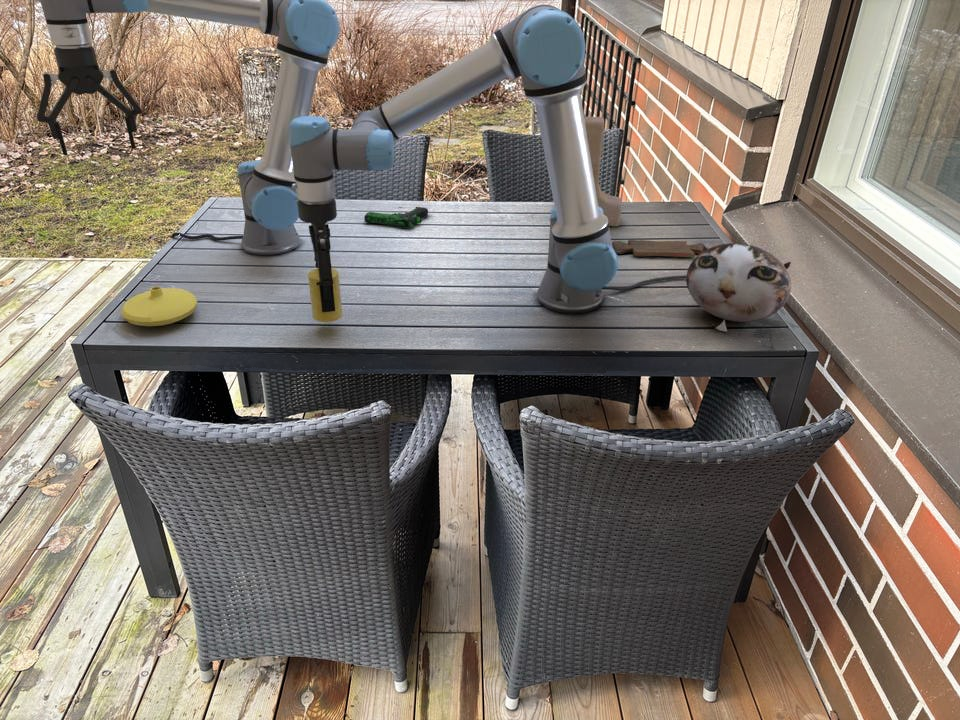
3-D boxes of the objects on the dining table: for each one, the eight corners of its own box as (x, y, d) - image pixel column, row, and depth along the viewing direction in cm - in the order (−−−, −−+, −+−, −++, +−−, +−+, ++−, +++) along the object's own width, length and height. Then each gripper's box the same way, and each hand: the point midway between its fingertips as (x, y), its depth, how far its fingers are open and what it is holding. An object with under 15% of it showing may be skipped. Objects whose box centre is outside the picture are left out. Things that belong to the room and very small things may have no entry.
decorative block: (619, 227, 213) (632, 123, 197) (569, 224, 214) (577, 121, 199) (618, 218, 219) (630, 117, 204) (569, 215, 221) (577, 115, 205)
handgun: (434, 207, 218) (411, 221, 205) (434, 217, 219) (411, 231, 207) (387, 201, 223) (362, 214, 211) (387, 210, 224) (363, 224, 212)
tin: (341, 321, 152) (337, 279, 147) (311, 322, 152) (306, 280, 147) (343, 308, 158) (339, 267, 153) (313, 309, 157) (309, 268, 152)
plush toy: (664, 307, 155) (693, 222, 157) (679, 329, 171) (705, 252, 172) (770, 332, 145) (800, 241, 146) (775, 353, 160) (802, 271, 162)
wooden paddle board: (710, 260, 193) (701, 246, 201) (711, 254, 192) (702, 240, 200) (615, 256, 193) (610, 243, 202) (615, 250, 192) (611, 237, 201)
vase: (172, 295, 169) (166, 268, 165) (214, 314, 161) (208, 285, 157) (109, 320, 158) (101, 291, 154) (150, 341, 150) (143, 311, 146)
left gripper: (2, 51, 139) (35, 161, 149) (140, 45, 149) (162, 148, 159) (3, 46, 144) (35, 152, 155) (137, 41, 154) (158, 140, 165)
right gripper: (293, 185, 149) (305, 287, 160) (300, 216, 133) (313, 326, 144) (330, 183, 150) (339, 283, 162) (340, 213, 134) (350, 322, 146)
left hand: (100, 150), depth 157 cm, fingers open, 13 cm apart
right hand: (327, 303), depth 153 cm, fingers closed on tin, 6 cm apart
